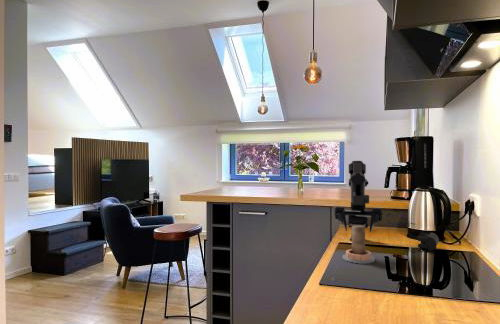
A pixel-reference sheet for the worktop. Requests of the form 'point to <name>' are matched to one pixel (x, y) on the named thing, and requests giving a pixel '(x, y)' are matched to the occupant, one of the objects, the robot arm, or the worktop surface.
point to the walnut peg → (358, 240)
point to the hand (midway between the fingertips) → (358, 231)
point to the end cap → (427, 241)
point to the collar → (358, 257)
